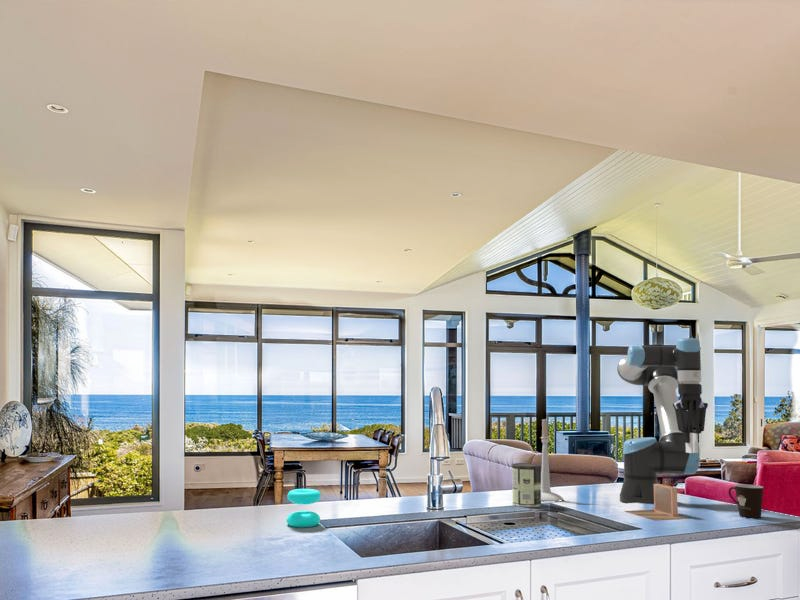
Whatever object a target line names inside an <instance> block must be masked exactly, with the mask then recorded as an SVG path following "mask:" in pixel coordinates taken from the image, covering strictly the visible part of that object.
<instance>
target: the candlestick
mask: <svg viewBox="0 0 800 600" xmlns="http://www.w3.org/2000/svg"><path fill="white" fill-rule="evenodd" d="M548 426H549V425H548V419H546V418H544V419H541V427H542V429H541V437H539V438H540V439H541V443H542V448H541V449H542V450H541V453H542V454H541V501H559V500H564V498H563V496H561V495H560V494H558V493H556V492H553V491H552V490H551V484H550V483H551V482H550V481H551V479H550V477H551V476H550V465H549V448H548V443H549V441H550V440H549V439H550V437H549V436H548V435H549V434H548V430H549V429H548Z"/></svg>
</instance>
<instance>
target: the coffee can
mask: <svg viewBox="0 0 800 600" xmlns="http://www.w3.org/2000/svg"><path fill="white" fill-rule="evenodd" d="M511 470H512V472H511V476H512V477H511V479H512V480H511V481H512V483H511V484H512V486H511V488H512V489H511V490H512V492H511V493H512V504H511V505H513V506H515V505H516V506H515V507H521V508H539V507H541V506H542V502H541V470H542V464H538V463H532V462H530V463H529V462H518V463H512V464H511Z"/></svg>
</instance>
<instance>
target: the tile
mask: <svg viewBox="0 0 800 600" xmlns="http://www.w3.org/2000/svg"><path fill="white" fill-rule="evenodd" d="M653 507H654V509H653V510H654V511H656V512H659V513H663V514H667V515H670V516H678V515H679V510H678V509H679V507H678V487H676V486H671V485H666V484H662V483H658V484H654V503H653Z"/></svg>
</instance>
